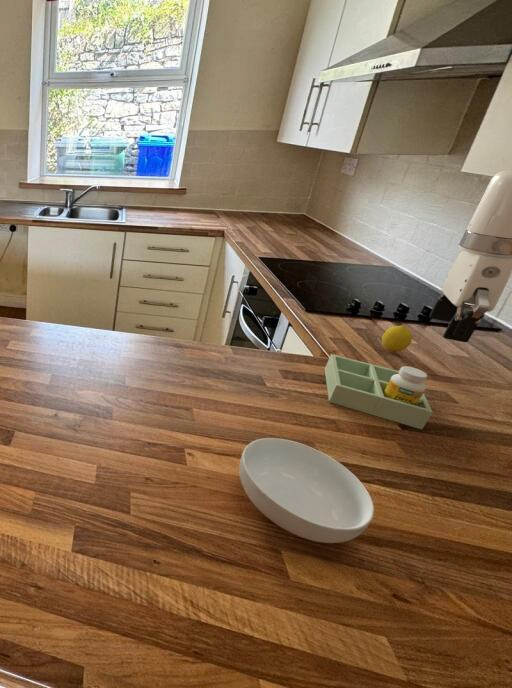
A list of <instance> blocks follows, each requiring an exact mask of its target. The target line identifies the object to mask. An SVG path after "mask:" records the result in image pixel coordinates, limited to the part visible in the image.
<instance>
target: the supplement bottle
mask: <svg viewBox="0 0 512 688" xmlns="http://www.w3.org/2000/svg"><path fill="white" fill-rule="evenodd" d="M398 371H399V374H395V375H393V376H392V377H391V379H390V381H389V383H388V385H387V387H386V389H385V390H384V392H383V395H384V397H387V398H390V399H394V400H397V401H401V402H405V403H408V404H412V405H415V406H416V405H417V403H418V402H419V400H420V398H421V396H422V395H423V393H424V394H425V391H426V389H427V387H426V384H425V383H424V382H426V380H427V378H428V374H427V373H426V372H425V371H423V370H421V369H419V368H416V367H413V366H408V365H407V366H405V365H404V366H401V367H400V369H399V370H398Z"/></svg>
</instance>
